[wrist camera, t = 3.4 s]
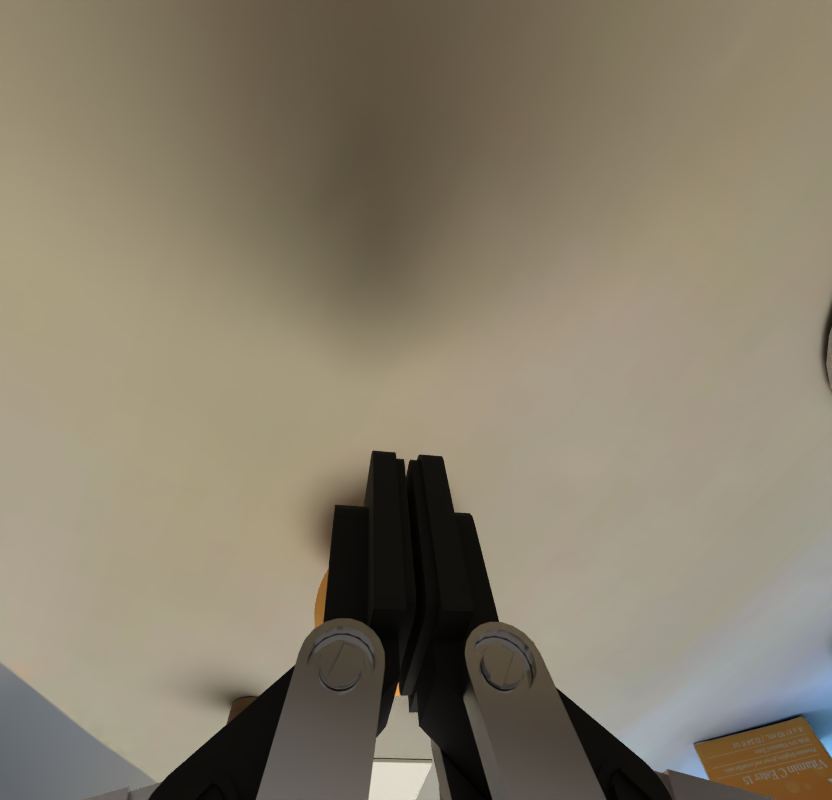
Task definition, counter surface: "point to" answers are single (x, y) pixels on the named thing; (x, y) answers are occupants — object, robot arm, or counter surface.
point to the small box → (771, 761)
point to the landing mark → (397, 778)
